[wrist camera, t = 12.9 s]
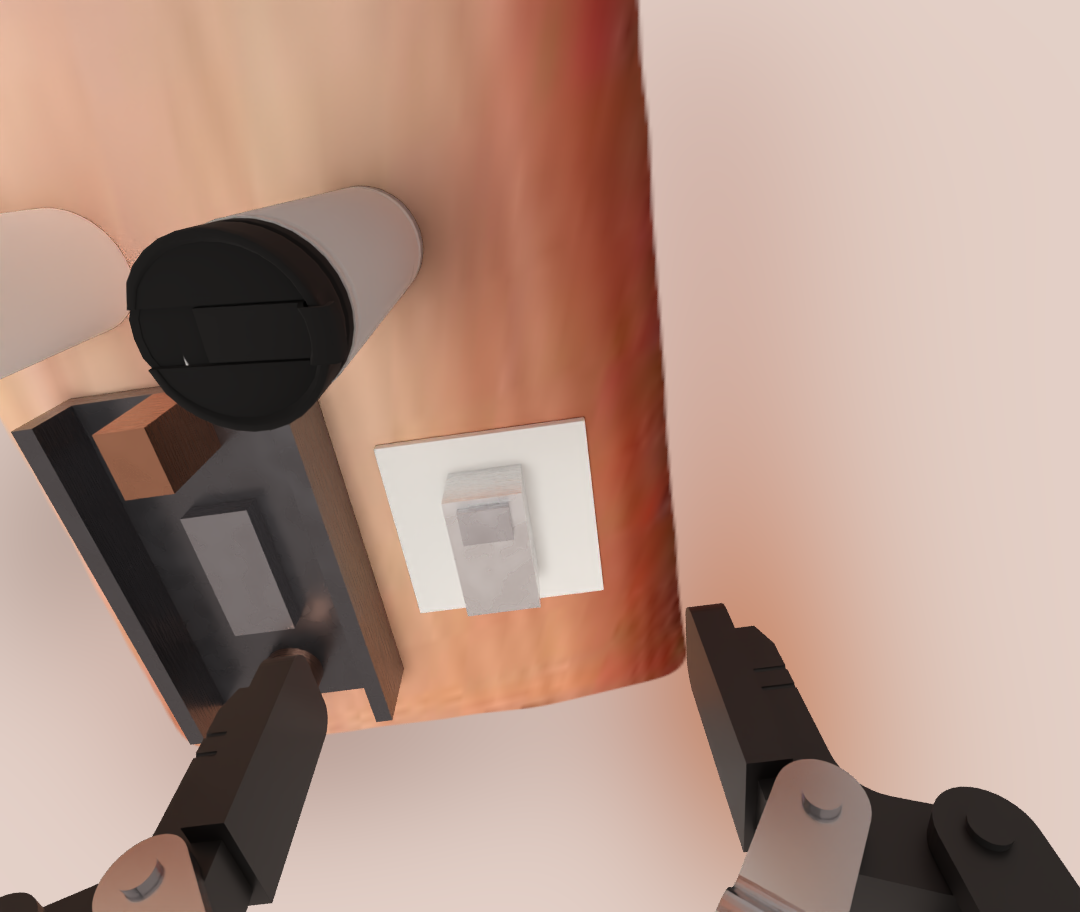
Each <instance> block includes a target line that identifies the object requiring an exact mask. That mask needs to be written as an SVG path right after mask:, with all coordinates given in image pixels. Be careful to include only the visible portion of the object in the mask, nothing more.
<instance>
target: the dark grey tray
mask: <svg viewBox="0 0 1080 912" xmlns="http://www.w3.org/2000/svg"><path fill="white" fill-rule="evenodd" d="M11 433H12V434H13V436H14V438H15V440H16V441H17V443H18V445H19V447H20V448H21V450H22V452H23V454H24V455H25V457H26V459H27V461H28V462H29V464H30V466H31V468H32V469H33V471H34V473H35V475H36V476H37V478H38V480H39V482H40V483H41V485H42V487H43V488H44V490H45V492H46V494H47V495H48V497H49V499H50V501H51V502H52V504H53V506H54V508H55V509H56V511H57V513H58V515H59V516H60V518H61V520H62V522H63V523H64V525H65V527H66V529H67V530H68V532H69V534H70V536H71V537H72V539H73V541H74V542H75V544H76V546H77V548H78V549H79V551H80V553H81V555H82V556H83V558H84V560H85V562H86V563H87V565H88V567H89V569H90V570H91V572H92V574H93V576H94V577H95V579H96V581H97V583H98V584H99V586H100V588H101V590H102V591H103V593H104V595H105V596H106V598H107V600H108V602H109V603H110V605H111V607H112V609H113V610H114V612H115V614H116V616H117V617H118V619H119V621H120V623H121V624H122V626H123V628H124V630H125V631H126V633H127V635H128V637H129V638H130V640H131V642H132V643H133V645H134V647H135V649H136V650H137V652H138V654H139V656H140V657H141V659H142V661H143V663H144V664H145V666H146V668H147V670H148V671H149V673H150V675H151V677H152V678H153V680H154V682H155V684H156V685H157V687H158V689H159V691H160V692H161V694H162V696H163V697H164V699H165V701H166V703H167V704H168V706H169V708H170V710H171V711H172V713H173V715H174V717H175V718H176V720H177V722H178V724H179V725H180V727H181V729H182V731H183V732H184V734H185V736H186V738H187V739H188V741H189V743H190V744H200V743H202V741H203V739H205V738H206V733H207V731H208V729H209V727H210V726H211V724H212V722H213V720H214V718H215V716H216V714H217V712H218V710H219V709H220V708H221V707H222V706H223V705H224V704H225V703H226V702H227V701H228V700H229V698H230V697H231V696H232V695H233V694H234V693H235V692H236V691H237V690H238V689H239V688H245V687H249V686H250V684H251V682H252V680H253V678H254V675H255V673H256V671H257V669H258V667H259V665H260V664H261V663H262V661H264V660H265V659H270V658H278V657H286V656H294V655H303V656H304V657H305V658H306V659H307V661H308V663H309V666H310V668H311V671H312V673H313V675H314V678H315V680H316V683H317V685H318V687H319V690H320V692H321V693H327V692H335V691H343V690H351V689H359V688H364V689H365V692H366V695H367V697H368V700H369V703H370V706H371V708H372V711H373V714H374V716H375V719H376V722H380V721H388V720H393V715H394V711H395V706H396V701H397V697H398V692H399V688H400V683H401V679H402V674H403V670H404V669H403V665H402V662H401V659H400V656H399V653H398V650H397V647H396V644H395V640H394V637H393V634H392V631H391V628H390V625H389V622H388V618H387V615H386V612H385V609H384V606H383V603H382V600H381V597H380V593H379V590H378V587H377V584H376V581H375V578H374V575H373V572H372V568H371V565H370V562H369V559H368V556H367V553H366V550H365V547H364V543H363V540H362V537H361V534H360V531H359V528H358V525H357V522H356V518H355V515H354V512H353V509H352V506H351V503H350V500H349V497H348V493H347V490H346V487H345V484H344V481H343V478H342V475H341V472H340V468H339V465H338V462H337V459H336V456H335V453H334V450H333V446H332V443H331V440H330V437H329V434H328V431H327V428H326V425H325V421H324V418H323V415H322V412H321V409H320V406H319V403H318V400H317V402H316V403H315V404H314V405H313V406H312V407H311V408H310V409H309V410H308V411H307V412H306V413H305V414H304V415H303V416H302V417H300V418H298V419H297V420H295V421H294V422H292V423H290V424H288V425H285V426H283V427H280V428H277V429H274V430H267V431H258V432H250V431H237V430H232V429H228V428H224V427H220V426H217V425H215V424H212V423H210V422H208V421H205V420H203V419H200V418H199V417H197V416H195V415H194V414H192V413H190V412H189V411H187V410H185V409H184V408H182V407H181V406H180V405H178V404H177V403H176V402H175V401H174V400H172V399H171V398H170V397H169V396H168V395H166V394H165V392H164V391H163V390H162V388H161V387H160V386H159V387H152V388H145V389H138V390H131V391H124V392H117V393H110V394H103V395H96V396H89V397H82V398H75V399H69V400H67V401H65V402H63V403H61V404H60V405H58V406H56V407H54V408H53V409H51V410H49V411H47V412H45V413H44V414H42V415H40V416H38V417H37V418H35V419H33V420H31V421H29V422H28V423H26V424H24V425H22V426H20V427H19V428H17V429H15V430H13V431H12V432H11Z"/></svg>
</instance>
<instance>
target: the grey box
mask: <svg viewBox="0 0 1080 912" xmlns="http://www.w3.org/2000/svg"><path fill="white" fill-rule="evenodd" d="M441 505H442V509H443V514H444V518H445V522H446V526H447V530H448V534H449V539H450V543H451V547H452V551H453V555H454V559H455V564H456V568H457V572H458V576H459V580H460V584H461V589H462V593H463V597H464V601H465V605H466V609H467V614H468V616H474V615H482V614H490V613H498V612H506V611H513V610H521V609H529V608H537V607H541V601H540V580H539V567H538V561H537V555H536V549H535V543H534V537H533V531H532V525H531V519H530V513H529V507H528V501H527V495H526V489H525V483H524V477H523V471H522V465H521V464H514V465H507V466H499V467H492V468H484V469H477V470H469V471H462V472H454V473H448V475H447V480H446V484H445V489H444V493H443V498H442V503H441Z"/></svg>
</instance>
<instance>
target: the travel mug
mask: <svg viewBox="0 0 1080 912" xmlns="http://www.w3.org/2000/svg"><path fill="white" fill-rule="evenodd" d="M422 257H423V241H422V237H421V232H420V229H419V227H418V225H417V222H416V220H415V218H414V217H413V215H412V214H411V212H410V211H409V210H408V209H407V207H406V206H405V205H404V204H403V203H402V202H401V201H400V200H398V199H397V198H395V197H394V196H393V195H391V194H389V193H387V192H385V191H383V190H381V189H377V188H373V187H369V186H354V187H349V188H344V189H340V190H336V191H331V192H327V193H323V194H319V195H315V196H310V197H306V198H302V199H298V200H294V201H289V202H285V203H281V204H277V205H273V206H268V207H264V208H260V209H256V210H251V211H247V212H243V213H239V214H235V215H230V216H227V217H223V218H218V219H214V220H212V221H210V222H208V223H205V224H202V225H198V226H194V227H189V228H185V229H181V230H177V231H174V232H172V233H170V234H167V235H165V236H163V237H161V238H158V239H157V240H156V241H154V242H153V243H152V244H151V245H149V246H148V247H147V248H146V249H144V250H143V252H142V253H141V254H140V256H139V257H138V259H137V260H136V261H135V263H134V264H133V266H132V268H131V271H130V274H129V276H128V279H127V281H126V301H127V311H128V310H131V311H130V317H129V321H130V325H131V329H132V333H133V336H134V340H135V342H136V344H137V346H138V348H139V351H140V353H141V355H142V357H143V359H144V360H145V361H146V362H147V363H148V364H149V365H150V366H151V367H152V368H151V369H150V370H149V372H150V373H151V374H152V376H153V377H154V379H155V380H156V381H157V383H158V384H159V385H160V387H161V388H162V390H163V391H164V392H165V394H166V395H168V396H169V397H170V398H171V399H172V400H174V401H175V402H176V403H177V404H178V405H180V406H181V407H182V408H184V409H185V410H187V411H189V412H190V413H192V414H194V415H195V416H197V417H199V418H200V419H203V420H205V421H208V422H210V423H212V424H215V425H217V426H220V427H224V428H228V429H232V430H237V431H250V432H258V431H267V430H274V429H277V428H280V427H283V426H285V425H288V424H290V423H292V422H294V421H295V420H297V419H298V418H300V417H302V416H303V415H304V414H305V413H306V412H307V411H308V410H309V409H310V408H311V407H312V406H313V405H314V404H315V403H316V402H317V400H318V399H319V398H320V396H321V395H322V394H323V393H324V391H325V390H326V389H327V388H328V387H329V385H330V384H331V383H332V382H333V381H334V380H335V379H336V378H337V377H338V376H339V375H340V374H341V373H342V372H343V370H344V368H345V367H346V366H347V365H348V364H349V363H350V361H351V360H352V359H353V358H354V356H355V355H356V354H357V352H358V351H359V350H360V349H361V347H362V346H363V345H364V344H365V342H366V341H367V340H368V338H369V337H370V336H371V335H372V333H373V332H374V331H375V329H376V328H377V327H378V326H379V324H380V323H381V322H382V321H383V319H384V318H385V317H386V315H387V314H388V313H389V312H390V310H391V309H392V308H393V307H394V305H395V304H396V303H397V301H398V300H399V299H400V298H401V296H402V295H403V294H404V293H405V291H406V290H407V289H408V287H409V286H410V285H411V284H412V282H413V281H414V279H415V277H416V276H417V274H418V272H419V269H420V267H421V264H422Z"/></svg>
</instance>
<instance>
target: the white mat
mask: <svg viewBox="0 0 1080 912" xmlns="http://www.w3.org/2000/svg"><path fill="white" fill-rule="evenodd" d="M374 453H375V456H376V460H377V463H378V466H379V470H380V473H381V477H382V480H383V484H384V487H385V491H386V494H387V498H388V501H389V505H390V508H391V512H392V515H393V519H394V522H395V526H396V529H397V533H398V536H399V540H400V543H401V547H402V550H403V554H404V557H405V561H406V564H407V568H408V571H409V574H410V578H411V581H412V585H413V588H414V592H415V595H416V599H417V602H418V606H419V609H420V613H426V612H434V611H442V610H450V609H458V608H466V605H465V601H464V597H463V593H462V589H461V584H460V580H459V576H458V572H457V568H456V564H455V559H454V555H453V551H452V547H451V543H450V539H449V534H448V530H447V526H446V522H445V518H444V514H443V509H442V505H441V503H442V498H443V493H444V489H445V484H446V480H447V475H448V473H454V472H462V471H469V470H477V469H484V468H492V467H499V466H507V465H514V464H521V465H522V471H523V477H524V483H525V489H526V495H527V501H528V507H529V513H530V519H531V525H532V531H533V537H534V543H535V549H536V555H537V561H538V567H539V580H540V598H544V597H552V596H560V595H567V594H575V593H583V592H591V591H599V590H604V589H603V580H602V571H601V562H600V553H599V544H598V535H597V527H596V518H595V509H594V500H593V491H592V482H591V473H590V464H589V455H588V447H587V438H586V429H585V420H584V417H581V418H573V419H566V420H559V421H551V422H544V423H537V424H530V425H522V426H515V427H508V428H500V429H493V430H486V431H478V432H471V433H464V434H457V435H449V436H442V437H435V438H427V439H420V440H413V441H406V442H398V443H391V444H384V445H376V446H375V448H374Z"/></svg>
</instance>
